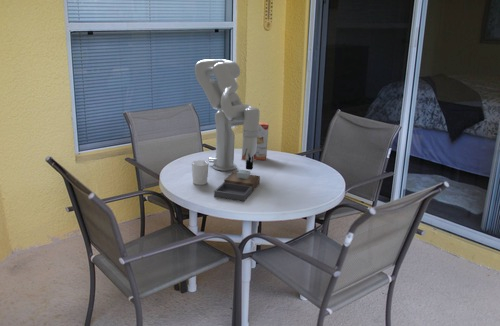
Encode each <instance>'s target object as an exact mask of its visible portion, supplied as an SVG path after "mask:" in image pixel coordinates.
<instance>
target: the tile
mask: <svg viewBox="0 0 500 326" xmlns="http://www.w3.org/2000/svg"><path fill="white" fill-rule="evenodd" d="M236 173H237V178H244V179H247V178H248V177H249V176H250V175H251V170H247V169H239V170H238V171H237V172H236Z"/></svg>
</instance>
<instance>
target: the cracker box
mask: <svg viewBox="0 0 500 326" xmlns="http://www.w3.org/2000/svg"><path fill="white" fill-rule="evenodd" d="M269 128H270V127H269V122H264V121H263V122H261V121H259V135H258V137H257V150H256V154H255V155H254V157H253V161H267V156H268V155H267V153H268V141H269V138H268V137H269ZM243 140H244V136H243V135H242V141H243ZM241 145H242V146H241V150H242V149H243V142H242V144H241ZM241 160H246V155H245V156H244V157H243V156H242V155H241Z"/></svg>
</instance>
